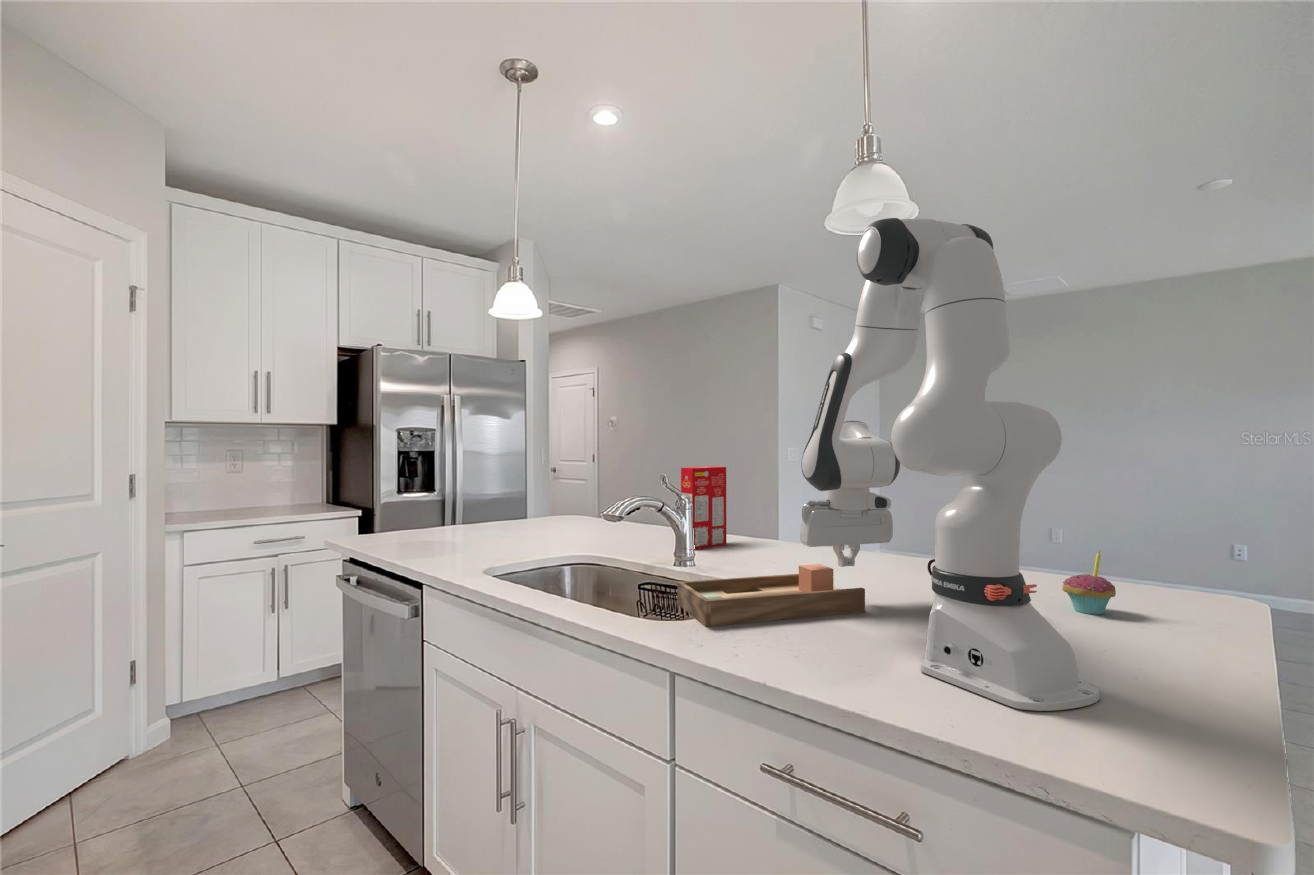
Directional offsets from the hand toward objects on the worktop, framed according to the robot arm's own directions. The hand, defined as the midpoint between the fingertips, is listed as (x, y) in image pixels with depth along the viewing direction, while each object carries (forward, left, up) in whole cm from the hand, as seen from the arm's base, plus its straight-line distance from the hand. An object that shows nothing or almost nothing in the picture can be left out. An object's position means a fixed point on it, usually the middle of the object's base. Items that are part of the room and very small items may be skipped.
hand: (846, 566), depth 130 cm
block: (-1, +8, -5) cm, 9 cm away
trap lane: (-1, +18, -7) cm, 19 cm away
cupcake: (-21, -40, -7) cm, 46 cm away
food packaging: (+71, +5, -7) cm, 72 cm away
